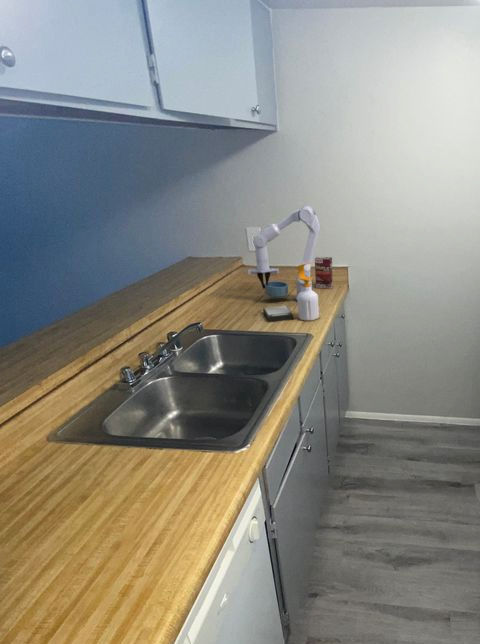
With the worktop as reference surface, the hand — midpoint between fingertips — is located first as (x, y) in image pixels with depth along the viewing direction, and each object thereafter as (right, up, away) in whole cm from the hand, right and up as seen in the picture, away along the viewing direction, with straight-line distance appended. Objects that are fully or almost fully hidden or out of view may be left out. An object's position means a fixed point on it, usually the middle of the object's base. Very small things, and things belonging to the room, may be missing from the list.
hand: (265, 288), depth 231 cm
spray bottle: (+24, -18, -19) cm, 35 cm away
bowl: (+5, -3, +2) cm, 6 cm away
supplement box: (+27, +6, +26) cm, 38 cm away
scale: (+10, -17, -17) cm, 26 cm away
